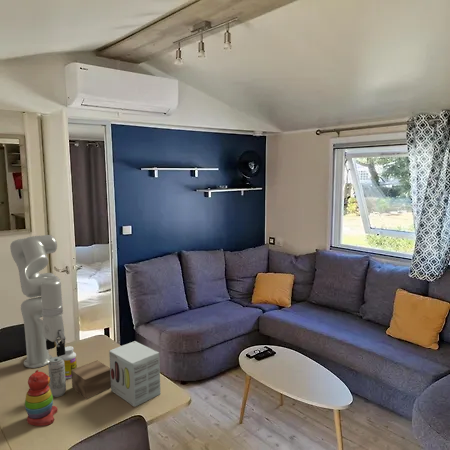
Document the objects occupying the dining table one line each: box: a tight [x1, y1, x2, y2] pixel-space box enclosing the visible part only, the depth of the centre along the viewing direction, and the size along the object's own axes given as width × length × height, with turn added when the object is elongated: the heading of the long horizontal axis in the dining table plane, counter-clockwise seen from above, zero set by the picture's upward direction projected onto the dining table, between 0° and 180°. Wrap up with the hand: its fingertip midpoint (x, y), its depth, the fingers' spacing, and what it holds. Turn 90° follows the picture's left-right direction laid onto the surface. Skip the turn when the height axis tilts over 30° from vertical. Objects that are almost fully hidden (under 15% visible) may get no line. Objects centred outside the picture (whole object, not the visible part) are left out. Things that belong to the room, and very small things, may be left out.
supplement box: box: [108, 340, 162, 408], centre depth 167 cm, size 17×13×18 cm
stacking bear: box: [24, 369, 59, 427], centre depth 151 cm, size 11×10×18 cm
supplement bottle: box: [59, 345, 78, 380], centre depth 182 cm, size 7×7×13 cm
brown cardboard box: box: [71, 360, 111, 399], centre depth 172 cm, size 12×12×8 cm
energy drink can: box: [47, 356, 67, 398], centre depth 167 cm, size 6×6×15 cm
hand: (55, 352), depth 165 cm, fingers open, 9 cm apart
